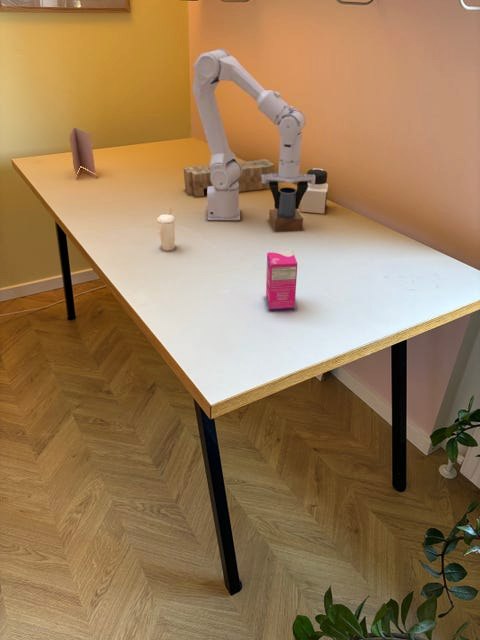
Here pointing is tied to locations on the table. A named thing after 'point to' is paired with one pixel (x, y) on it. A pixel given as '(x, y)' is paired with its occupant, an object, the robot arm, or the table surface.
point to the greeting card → (82, 152)
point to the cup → (287, 202)
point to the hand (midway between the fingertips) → (286, 207)
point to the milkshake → (167, 231)
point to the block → (285, 222)
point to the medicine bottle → (316, 193)
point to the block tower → (249, 180)
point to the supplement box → (281, 280)
